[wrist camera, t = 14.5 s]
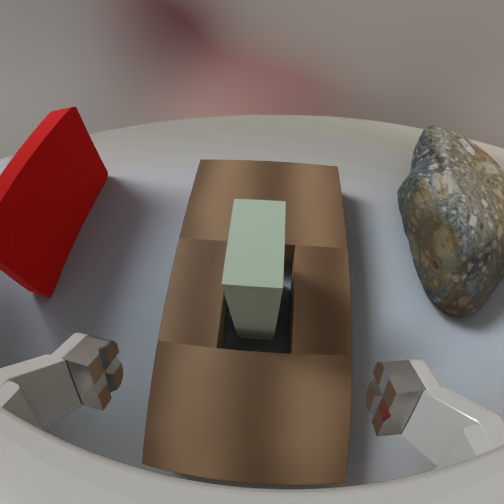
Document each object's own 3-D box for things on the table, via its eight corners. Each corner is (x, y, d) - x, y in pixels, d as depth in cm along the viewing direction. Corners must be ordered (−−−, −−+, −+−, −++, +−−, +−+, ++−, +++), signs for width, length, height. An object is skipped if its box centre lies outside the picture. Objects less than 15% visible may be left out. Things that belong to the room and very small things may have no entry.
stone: (403, 326, 20) (460, 284, 13) (369, 156, 29) (387, 97, 22) (513, 315, 20) (566, 280, 13) (465, 173, 29) (492, 126, 22)
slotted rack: (157, 457, 16) (142, 464, 13) (205, 182, 28) (200, 159, 25) (333, 472, 15) (344, 482, 12) (331, 189, 27) (337, 166, 24)
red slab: (89, 175, 29) (54, 107, 21) (109, 175, 29) (74, 103, 20) (31, 293, 22) (-36, 238, 13) (50, 299, 22) (-22, 242, 13)
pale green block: (237, 337, 20) (221, 284, 12) (243, 279, 23) (234, 198, 14) (273, 340, 20) (282, 288, 12) (276, 282, 22) (285, 201, 14)
